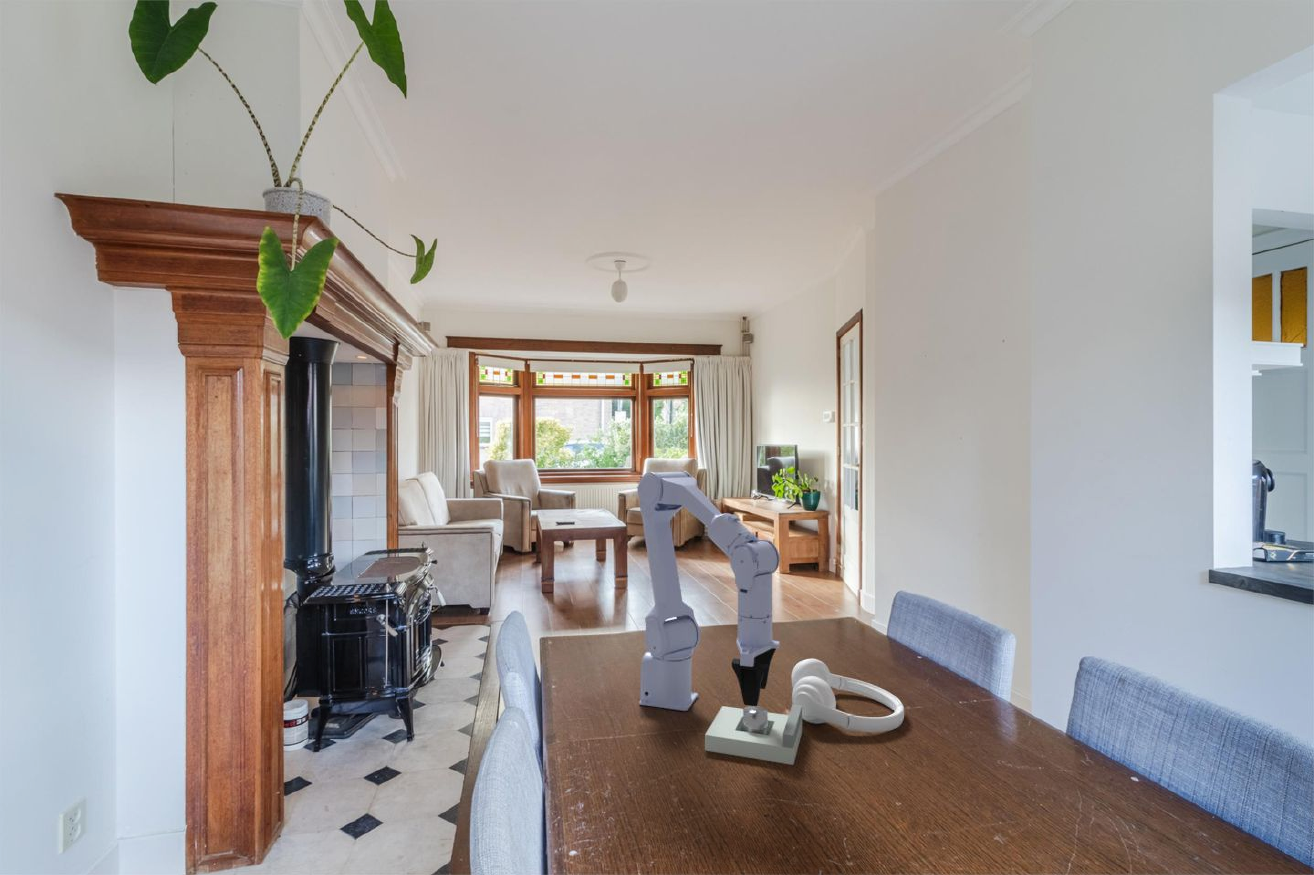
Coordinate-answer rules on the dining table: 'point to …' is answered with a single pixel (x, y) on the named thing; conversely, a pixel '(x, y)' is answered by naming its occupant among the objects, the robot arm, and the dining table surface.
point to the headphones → (820, 701)
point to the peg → (755, 720)
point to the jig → (756, 736)
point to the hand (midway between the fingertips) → (755, 696)
